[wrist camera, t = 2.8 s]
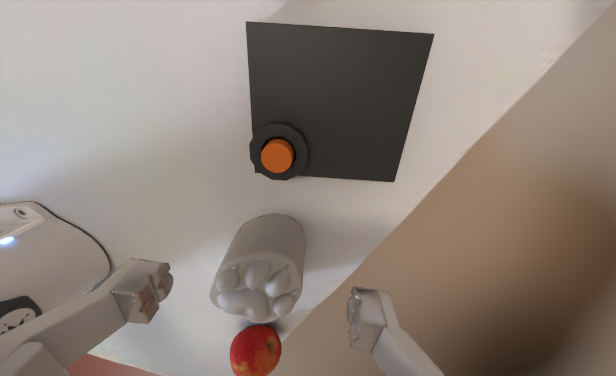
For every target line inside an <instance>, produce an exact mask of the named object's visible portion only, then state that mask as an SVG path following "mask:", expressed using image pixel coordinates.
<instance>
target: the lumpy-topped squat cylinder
mask: <svg viewBox="0 0 616 376" xmlns="http://www.w3.org/2000/svg"><path fill="white" fill-rule="evenodd" d="M304 254H305V236H304V233H303V231H302V229H301V227H300V225H299V224H298V223H297V222H296V221H295V220H294V219H292V218H291V217H288V216H286V215H280V214H271V215H264V216H261V217H258V218H255V219H253V220H251V221H249V222H247V223H245V224H244V225H243V226H242V227H241V228H240V230H239V231H238V233H237V234H236V236H235V238H234V239H233V241H232V243H231V245H230V247H229V249H228V251H227V253H226V255H225V257H224V259H223V261H222V263H221V265H220V267H219V269H218V271H217V273H216V275H215V277H214V280H213V282H212V285H211V287H210V290H209V298H210V300H211V301H212V303H213V304H214V305H215V306H216V307H218V308H220V309H222V310H224V311H225V312H227V313H230V314H235V315H238V316H241V317H243V318H246V319H248V320H249V321H251V322H253V323H268V322H273V321H275V320H278V319H279V318H280V317H282V316H284V315H286V314H288V313H289V312H290V311H291V310H292V309H293V307H294V304H295V303H296V301H297V300H298V299H299V297H300V295H301V292H302V284H303V269H304Z"/></svg>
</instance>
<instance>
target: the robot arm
mask: <svg viewBox="0 0 616 376" xmlns="http://www.w3.org/2000/svg"><path fill="white" fill-rule="evenodd" d="M109 270H110V264H109V260H108V258H107V256H106V254H105V252H104V251H103V250H102V248H101V247H100V246H99V245H98V244H97V243H96V242H95V241H94V240H93V239H92V238H91V237H89V236H88V235H87V234H85V233H84V232H83V231H81V230H79V229H78V228H76V227H74V226H72V225H70V224H68V223H66V222H64V221H62V220H60V219H58V218H56V217H55V216H54V215H52V214H51V213H50V212H48V211H47V210H46V209H44V208H43V207H42V206H40V205H38V204H36V203H34V202H22V203H13V204H4V205H0V376H70V374H69V373H68V372H67V371H66V370H65V368H67V367H68V366H69V365H71V364H72V363H74V362H75V361H76V360H78V359H79V358H80V357H81V356H83V355H84V354H86V353H87V352H88V351H90V350H91V349H92V348H94V347H95V346H97V345H98V344H99V343H101V342H102V341H103V340H105V339H106V338H107V337H109V336H110V335H111V334H113V333H114V332H116V331H117V330H118V329H120V328H121V327H122V326H124V325H125V324H126V322H131V323H142V324H148V323H149V322H150V320H151V319H152V318H153V316H154V315H155V313H156V312H157V310H158V309H159V302H161V301H162V300H164V299H165V298H166V297H167V296H168V294H169V293H170V290H171V288H172V285H173V277H172V275H171V274H170V273H169V272H168V271H169V270H170V266H169V263H163V262H157V261H150V260H144V259H137V258H131V259H128V260H127V261H126V262H125V263H124V264H122V265H121V266H120V267H119V268H118V269H117V270H116V271H115V272H114V273H113V274H112V275H111V276H110V277H109V278H108V279H107V280H106V281H105V282H104V283H103V284H102V285H101V286H100V287H99V288H98V289H97V290H96V291H92V290H93V288H94V286H95V285H96V284H97V283H99V282H100V281H102V280H103V279H105V278H106V277H107V275H108V274H109ZM351 294H352V297H350V298H349V300H348V304H347V320H348V322H349V324H350V325H351V327H350V330H349V338H350V348H351V349H354V350H360V351H367V352H371V354H372V356H373V358H374V359H375V361H376V363H377V365H378V366H379V368H380V370H381V371H382V373H383V375H384V376H445V375H444V374H443V373H442V372H441V371H440V369H439V368H438V367H437V366H436V365H435V364H434V363H433V361H432V360H431V359H430V358H429V357H428V356H427V355H426V353H425V352H424V351H423V350H422V349H421V348H420V347H419V346H418V345H417V343H416V342H415V341H414V340H413V339H412V338H411V336H410V335H409V334H408V333H407V332H406V331H405V330H402V329H401V327H400V324H399V321H398V318H397V315H396V312H395V309H394V305H393V303H392V300H391V296H390V293H389V292H388V291H386V290H378V289H372V288H363V287H353V288H352V290H351Z"/></svg>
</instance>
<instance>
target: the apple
mask: <svg viewBox="0 0 616 376" xmlns="http://www.w3.org/2000/svg"><path fill="white" fill-rule="evenodd" d="M280 355H281V341H280V338H279V336H278V334H277V333H276V331H275V330H274V329H273V328H271V327H269V326H264V325H253V326H250V327H247V328H245V329H244V330H242V331H241V332H239V333H238V334H237V336H236V337H235V338H234V340H233V342H232V344H231V348H230V362H231V366H232V369H233V372H234V373H235V375H236V376H267V375H268V374H270V373H271V372H272V371H273V370H274V368H275V367H276V365H277V364H278V362H279V358H280Z"/></svg>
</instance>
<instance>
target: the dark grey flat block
mask: <svg viewBox="0 0 616 376" xmlns="http://www.w3.org/2000/svg"><path fill="white" fill-rule="evenodd" d="M246 32H247V49H248V66H249V82H250V99H251V115H252V132H253V139H252V140H251V142H250V145H249V146H250V159H251V161H252V162H253V164H254V165H255V173H261V174H263V175H265V176H266V177H268V178H270V179H272V180H288V179H290V178H293V177H295V176H312V177H326V178H341V179H355V180H370V181H384V182H394V181H395V177H396V173H397V170H398V166H399V162H400V159H401V155H402V151H403V148H404V144H405V140H406V137H407V133H408V129H409V126H410V122H411V118H412V115H413V111H414V107H415V104H416V100H417V96H418V93H419V89H420V85H421V82H422V78H423V74H424V71H425V67H426V63H427V60H428V56H429V52H430V49H431V45H432V41H433V38H434V34H428V33H413V32H398V31H383V30H368V29H352V28H337V27H322V26H307V25H291V24H276V23H261V22H246ZM274 139H282V140H285V141H287V142H288V143H289V144H290V145H291V147H292V149H293V152H294V155H293V160H292V163H291V166H290V167H289V168H288V169H287V170H286V171H284V172H281V173H274V172H271V171H269V170H268V169H266V168H265V166H264V165H263V163H262V160H261V153H262V151H263V149H264V148H265V146H266V145H267V144H268V142H270V141H271V140H274Z"/></svg>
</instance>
